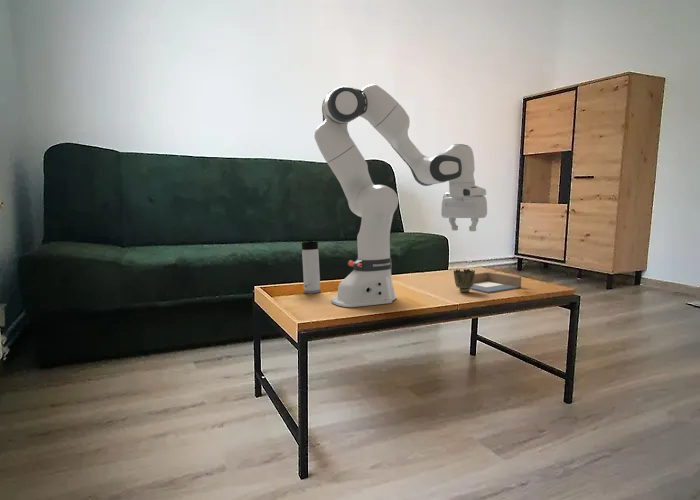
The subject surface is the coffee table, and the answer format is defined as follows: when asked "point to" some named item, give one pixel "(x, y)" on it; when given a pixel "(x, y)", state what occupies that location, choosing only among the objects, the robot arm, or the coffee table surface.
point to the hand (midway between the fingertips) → (463, 230)
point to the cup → (464, 279)
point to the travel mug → (311, 267)
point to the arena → (495, 282)
